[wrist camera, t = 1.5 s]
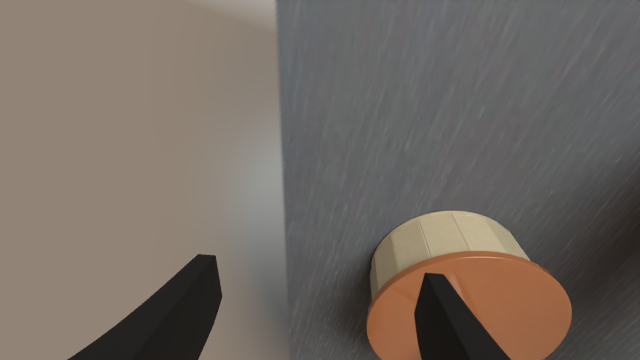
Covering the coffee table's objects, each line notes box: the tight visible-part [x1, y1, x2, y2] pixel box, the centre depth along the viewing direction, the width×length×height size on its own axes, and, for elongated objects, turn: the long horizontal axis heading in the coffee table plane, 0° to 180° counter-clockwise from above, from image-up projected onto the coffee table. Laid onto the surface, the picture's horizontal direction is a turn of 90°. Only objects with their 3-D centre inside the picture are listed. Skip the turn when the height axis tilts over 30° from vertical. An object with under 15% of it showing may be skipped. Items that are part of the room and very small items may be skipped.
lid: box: [366, 251, 572, 360], centre depth 18 cm, size 11×11×4 cm
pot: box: [370, 211, 530, 300], centre depth 21 cm, size 10×10×4 cm
